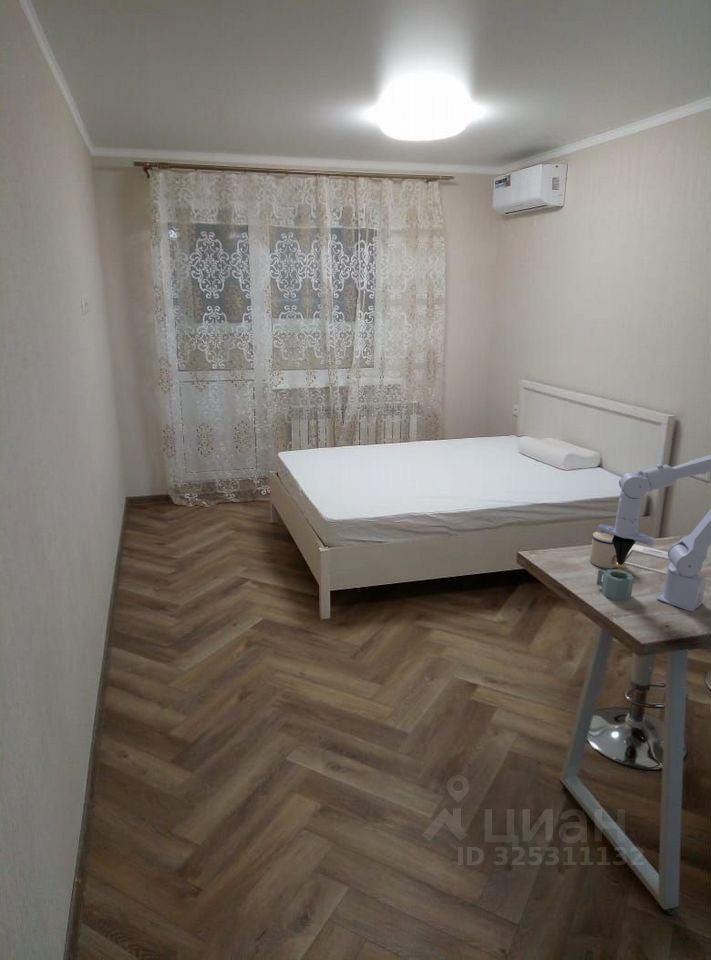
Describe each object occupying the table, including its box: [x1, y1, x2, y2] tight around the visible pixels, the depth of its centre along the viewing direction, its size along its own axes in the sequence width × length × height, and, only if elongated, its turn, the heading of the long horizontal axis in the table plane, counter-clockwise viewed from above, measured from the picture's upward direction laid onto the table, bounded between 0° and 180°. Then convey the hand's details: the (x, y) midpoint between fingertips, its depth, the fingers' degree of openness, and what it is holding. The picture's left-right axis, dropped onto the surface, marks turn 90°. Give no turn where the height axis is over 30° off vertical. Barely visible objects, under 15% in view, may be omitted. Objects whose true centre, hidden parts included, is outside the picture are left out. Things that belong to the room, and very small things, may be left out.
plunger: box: [613, 562, 626, 579], centre depth 179 cm, size 4×4×5 cm
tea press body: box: [596, 568, 635, 601], centre depth 181 cm, size 9×7×6 cm
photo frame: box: [624, 543, 671, 576], centre depth 205 cm, size 15×1×18 cm
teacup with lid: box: [589, 531, 617, 569], centre depth 201 cm, size 12×9×12 cm
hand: (620, 562), depth 178 cm, fingers closed
